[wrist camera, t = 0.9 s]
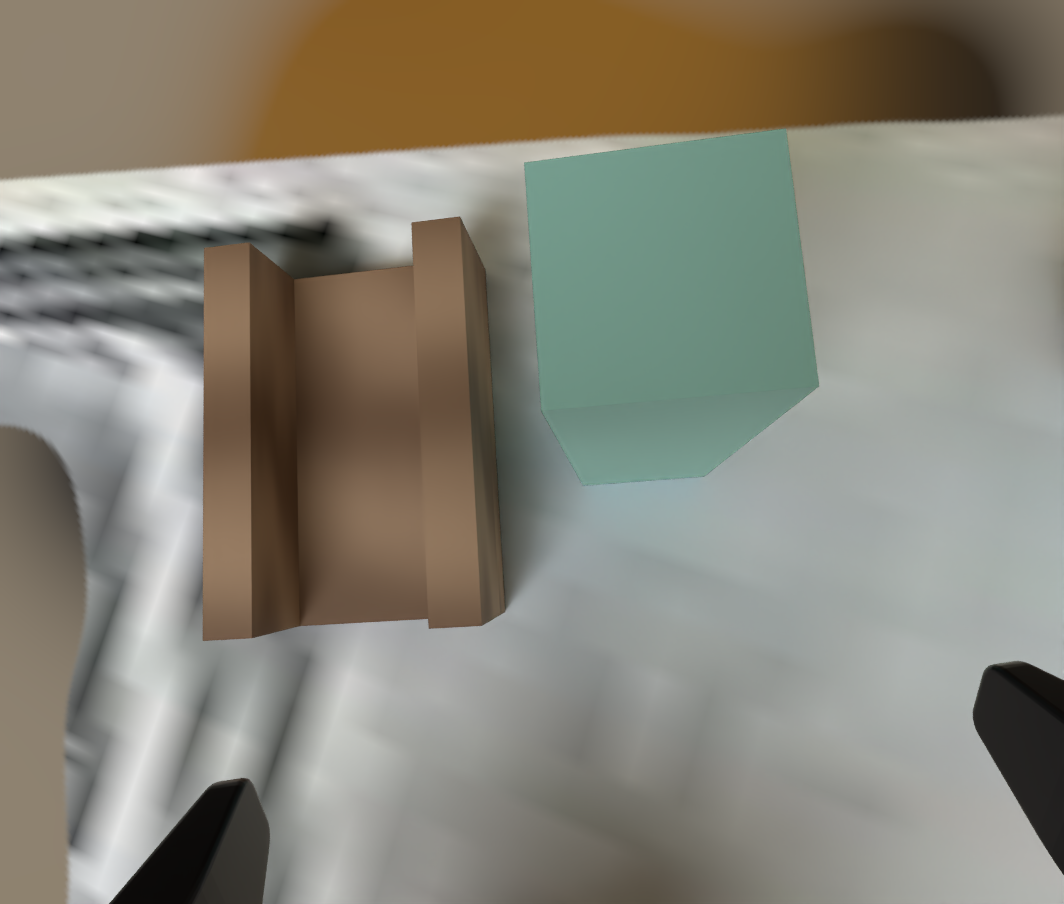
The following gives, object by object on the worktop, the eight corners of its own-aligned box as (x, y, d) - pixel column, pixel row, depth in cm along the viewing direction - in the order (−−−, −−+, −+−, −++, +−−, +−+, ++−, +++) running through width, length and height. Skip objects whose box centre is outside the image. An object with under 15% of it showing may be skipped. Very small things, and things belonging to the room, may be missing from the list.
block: (703, 476, 23) (819, 386, 10) (583, 485, 23) (541, 410, 10) (692, 359, 23) (785, 129, 10) (574, 370, 24) (524, 162, 11)
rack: (505, 611, 23) (481, 625, 19) (271, 624, 24) (202, 640, 20) (485, 269, 24) (460, 216, 20) (268, 293, 25) (204, 247, 21)
